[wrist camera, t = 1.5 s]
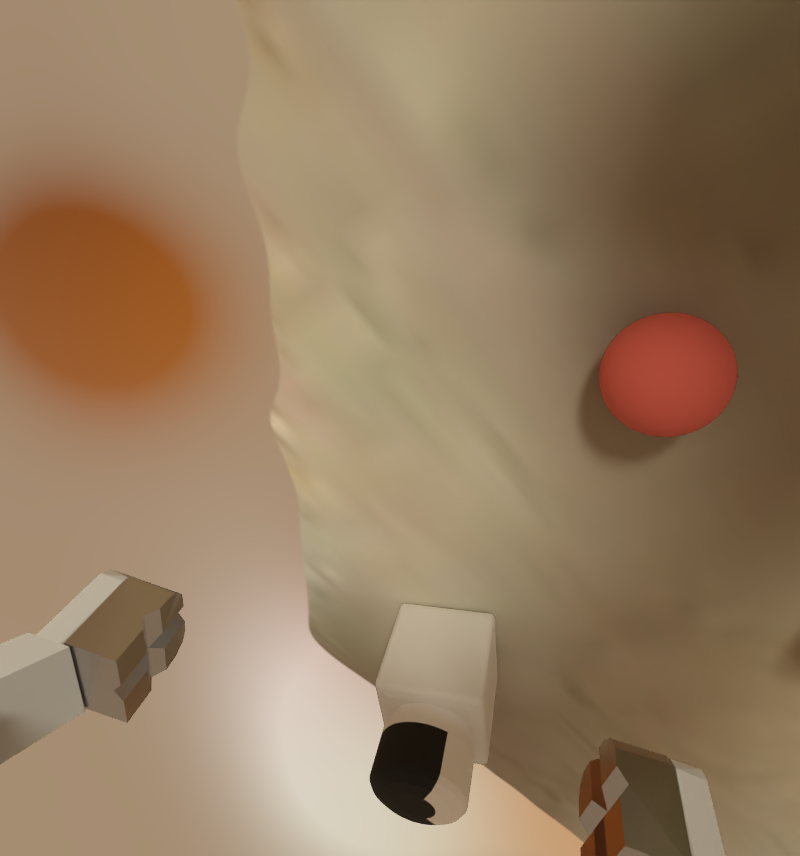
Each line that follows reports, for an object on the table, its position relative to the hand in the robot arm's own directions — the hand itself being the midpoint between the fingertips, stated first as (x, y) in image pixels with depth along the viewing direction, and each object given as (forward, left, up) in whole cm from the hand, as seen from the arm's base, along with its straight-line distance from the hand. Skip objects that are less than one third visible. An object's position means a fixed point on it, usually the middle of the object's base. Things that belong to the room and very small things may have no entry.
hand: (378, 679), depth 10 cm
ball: (0, +8, -19) cm, 20 cm away
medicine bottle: (+26, +3, -22) cm, 34 cm away
